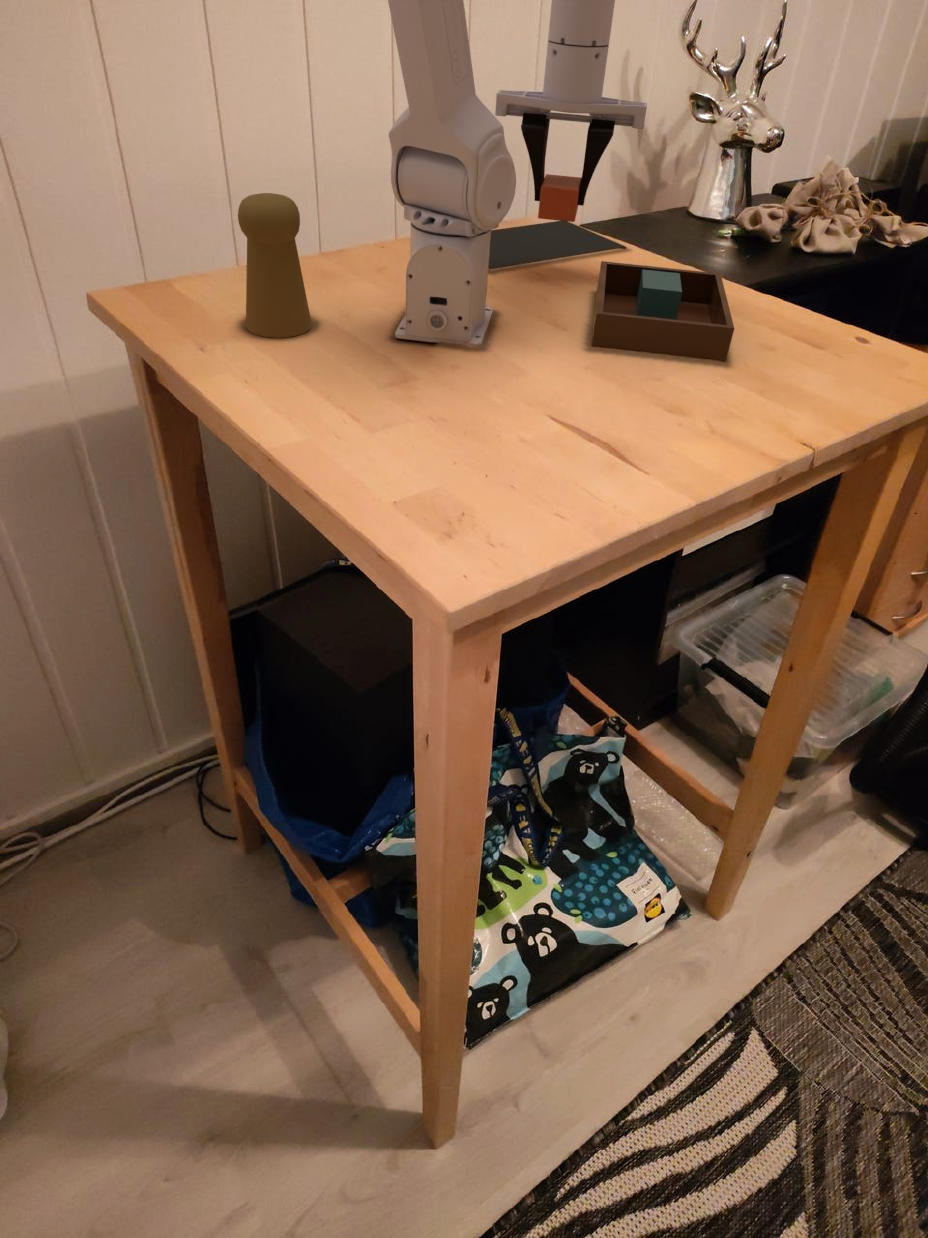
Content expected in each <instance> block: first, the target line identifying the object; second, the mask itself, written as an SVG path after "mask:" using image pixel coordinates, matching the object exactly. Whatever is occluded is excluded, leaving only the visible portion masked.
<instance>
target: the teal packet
mask: <svg viewBox="0 0 928 1238" xmlns="http://www.w3.org/2000/svg"><path fill="white" fill-rule="evenodd" d="M681 295H682V287H681V279H680V274H679V273H671V272H661V271H652V270H642V274H641V279H640V284H639V290H638V295H637V316H646V317H656V318H665V319H674V320H676V318H677V313H678V309H679V304H680V300H681Z"/></svg>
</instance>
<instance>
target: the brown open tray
mask: <svg viewBox="0 0 928 1238" xmlns="http://www.w3.org/2000/svg"><path fill="white" fill-rule="evenodd" d="M642 270H652V271H661V272H671V273H679V274H680V279H681V287H682V295H681V300H680V304H679V309H678V313H677V318H676V320H674V319H665V318H656V317H646V316H637V295H638V290H639V284H640V279H641V274H642ZM592 325H593V326H592V334H591V335H592V336H591V345H590V346H591V347H593V348H602V349H610V350H611V349H612V350H620V351H628V352H629V351H630V352H638V353H647V354H657V355H666V356H674V357H683V358H689V359H690V358H692V359H699V360H711V361H719V362H726V361H727V359H728V354H729V350H730V347H731V344H732V339H733V335H734V333H735V325H734V321H733V318H732V313H731V309H730V305H729V302H728V298H727V293H726V289H725V285H724V281H723V278H722V274H721V273H719V272H710V271H701V270H692V269H691V270H690V269H681V268H670V267H661V266H652V265H642V264H633V263H623V262H613V261H603V260H601V262H600V267H599V274H598V280H597V287H596V293H595V305H594V317H593V324H592Z"/></svg>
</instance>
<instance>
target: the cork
mask: <svg viewBox="0 0 928 1238" xmlns="http://www.w3.org/2000/svg"><path fill="white" fill-rule="evenodd" d="M237 222H238V225H239V228H240V230H241V232H242V234H244V236H245V238H246V286H245V292H246V293H245V328H246V329H247V331H248V332H250V333H252V334H253V335H257V336H261V337H266V338H272V339H273V338H274V339H275V338H278V339H282V338H291V337H292V338H293V337H296V336H300V335H303V334H305V333H307V332H308V331H310V329H312V327H313V325H312V324H313V323H312V317H311V313H310V308H309V302H308V298H307V293H306V288H305V283H304V278H303V272H302V268H301V267H302V266H301V262H300V257H299V253H298V252H299V251H298V247H297V241H296V237H297V235H298V234H299V232H300V226H301V214H300V210H299V208H298V205H297V204H296V202H295V201H294V200H293V198H290V197H289V196H287V195H284V194H280V193H273V192H272V193H271V192H263V193H262V192H261V193H255V194H250V195H248V196H246V197H244V198H243V199H241V201H240V203H239V205H238V210H237Z"/></svg>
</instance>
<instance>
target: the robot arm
mask: <svg viewBox="0 0 928 1238" xmlns="http://www.w3.org/2000/svg"><path fill="white" fill-rule="evenodd" d="M387 2H388V8H389V12H390V17H391V22H392V29H393V33H394V38H395V44H396V48H397V53H398V59H399V64H400V69H401V74H402V79H403V84H404V91H405V96H406V99H407V106H408V107H407V108H406V109H405V110H404V111H403V112H402V113H401V114H400V115H399V116H398V118H397V119H396V120H395V122H394V123H393V125H392V127H391V128H390V130H389V131H388V139H389V143H390V150H391V166H390V182H391V189H392V193H393V195H394V197H395V199H396V201H397V202H398V204H399V205H400V206H402V207H403V219H404V220H407V221H408V222H410V237H409V238H410V239H409V240H410V241H409V242H410V244H409V247H410V248H409V250H410V252H409V259H408V262H407V265H406V270H405V314H404V316H403V318H402V319H401V321H400V322H399V325H398V326H397V328H396V329H395V332H394V337H395V338H396V339H398V340H399V339H400V340H409V341H417V342H426V343H435V344H436V343H447V344H454V345H455V344H456V345H464V346H474V347H479V346H481V345H482V344H483V342H484V338H485V335H486V333H487V330H488V327H489V325H490V322H491V319H492V316H493V313H494V307H492V306H488V305H487V295H488V293H487V292H488V279H489V268H488V267H489V253H490V238H491V230H496V229H497V228H499V226H500V223H502V221H503V220H504V219H505V217H506V216H507V215H508V213H509V211H510V209H511V208H512V204H513V202H514V199H515V194H516V187H517V172H516V167H515V162H514V159H513V157H512V155H511V152H509V149H508V147H507V144H506V139H505V131H504V126H503V124H502V122H501V121H500V120H499V119H498V118H497V117H507V116H511V117H522V120H521V124H520V130H521V134H522V138H523V140H524V143H525V146H526V150H527V154H528V157H529V161H530V165H531V171H532V178H533V179H532V180H533V187H534V201H535V202H540V192H541V186H542V183H543V181H544V178H545V176H546V173H545V171H546V155H547V147H548V139H549V131H550V123H551V120H555V121H567V122H577V123H587V124H588V123H589V125H588V128H587V135H586V142H585V144H586V145H585V151H584V158H583V167H582V174H581V177H580V178H581V182H580V187H579V195H578V204H577V205H578V206H584V204H585V200H586V195H587V192H588V189H589V186H590V183H591V180H592V177H593V175H594V173H595V170H596V168H597V167H598V164H599V163H600V160H601V158H602V157H603V155H604V152H605V151H606V149H607V147H608V146H609V144H610V142H611V140H612V138H613V137H614V132H615V126H622V127H631V128H632V129H636V130H637V129H638V130H643V129H644V128H645V121H646V117H647V116H646V115H647V111H648V110H647V109H648V103H647V102H641V101H631V100H625V99H618V98H612V97H605V96H603V92H604V84H605V76H606V69H607V61H608V55H609V49H610V47H609V45H610V41H611V34H612V25H613V18H614V13H615V12H614V11H615V4H616V0H551V5H550V15H549V25H548V34H547V35H548V36H547V44H546V45H547V46H546V55H545V66H544V67H545V68H544V76H543V87H542V91H529V90H528V91H527V90H525V91H524V90H521V91H520V90H504V89H499V90H498V91H497V92H496V97H495V110H494V111H495V113H494V114H493V112H491V111H490V109H489V108H488V107H487V106H486V104H484V103H483V102H482V100H481V99H480V98H479V96H478V95H477V94H476V93H477V92H476V85H475V79H474V77H475V76H474V71H473V70H474V69H473V62H472V56H471V48H470V40H469V32H468V26H467V25H468V24H467V18H466V17H467V16H466V9H465V2H464V0H387ZM585 114H586V115H585ZM587 114H588V115H587Z"/></svg>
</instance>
